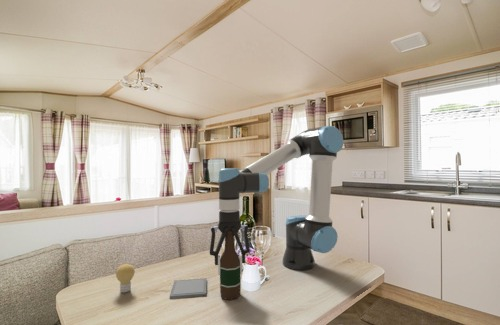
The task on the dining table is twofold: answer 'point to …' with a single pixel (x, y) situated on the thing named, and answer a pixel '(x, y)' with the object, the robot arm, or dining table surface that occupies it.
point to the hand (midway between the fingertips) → (230, 272)
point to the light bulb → (125, 277)
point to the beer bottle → (229, 270)
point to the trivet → (189, 288)
